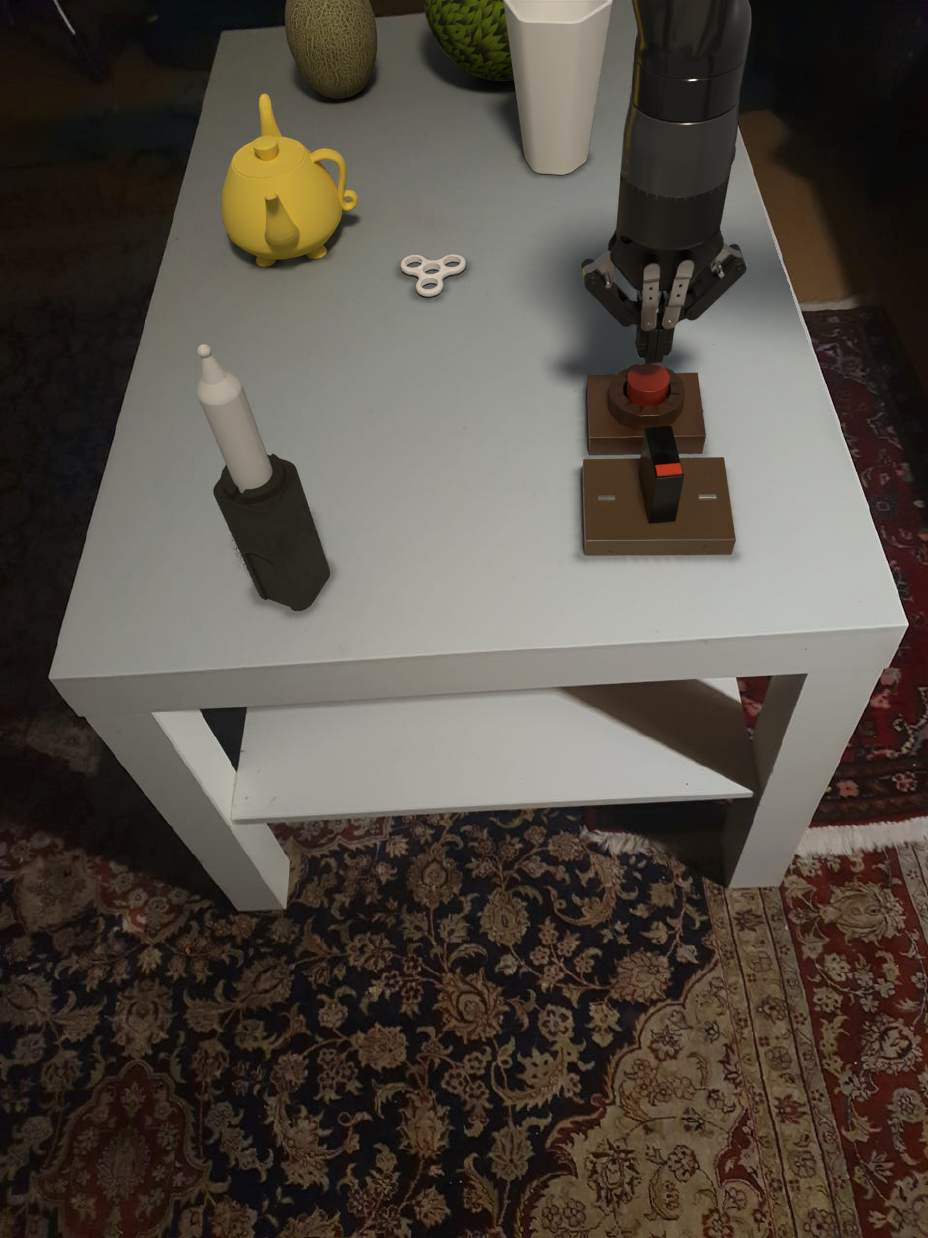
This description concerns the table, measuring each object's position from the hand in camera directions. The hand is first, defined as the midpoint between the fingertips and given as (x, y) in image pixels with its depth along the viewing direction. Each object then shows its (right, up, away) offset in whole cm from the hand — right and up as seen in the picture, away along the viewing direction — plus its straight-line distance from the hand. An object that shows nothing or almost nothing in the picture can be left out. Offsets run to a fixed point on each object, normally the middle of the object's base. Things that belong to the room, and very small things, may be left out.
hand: (651, 356), depth 78 cm
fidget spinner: (-19, +14, +20) cm, 31 cm away
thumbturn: (0, -12, -1) cm, 12 cm away
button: (0, -2, +3) cm, 4 cm away
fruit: (-32, +47, +42) cm, 71 cm away
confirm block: (0, -4, +6) cm, 8 cm away
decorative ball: (-10, +49, +42) cm, 66 cm away
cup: (-5, +32, +31) cm, 45 cm away
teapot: (-35, +20, +25) cm, 47 cm away
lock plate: (0, -13, 0) cm, 13 cm away
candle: (-30, -19, -1) cm, 36 cm away
